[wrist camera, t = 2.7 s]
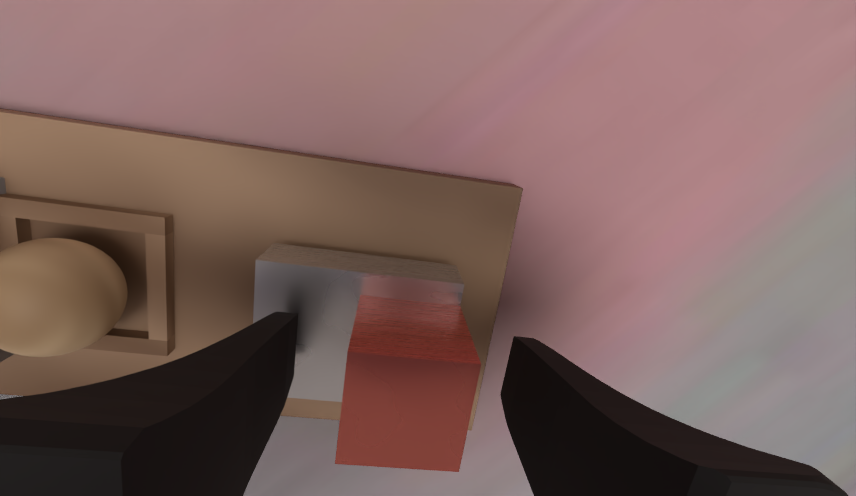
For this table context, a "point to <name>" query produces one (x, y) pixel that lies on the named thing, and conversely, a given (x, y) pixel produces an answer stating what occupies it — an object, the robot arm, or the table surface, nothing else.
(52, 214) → the wooden puzzle board
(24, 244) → the walnut
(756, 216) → the table surface
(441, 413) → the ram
